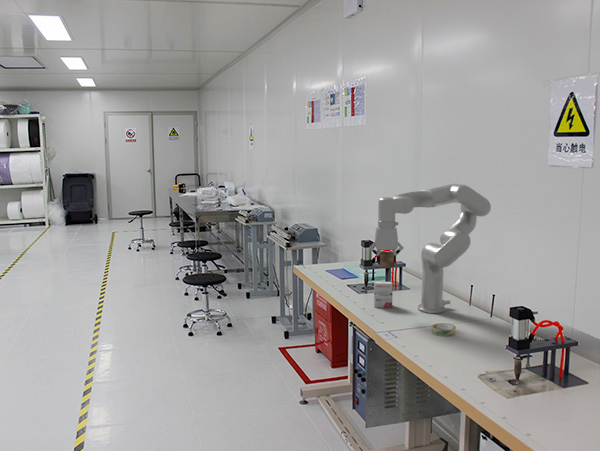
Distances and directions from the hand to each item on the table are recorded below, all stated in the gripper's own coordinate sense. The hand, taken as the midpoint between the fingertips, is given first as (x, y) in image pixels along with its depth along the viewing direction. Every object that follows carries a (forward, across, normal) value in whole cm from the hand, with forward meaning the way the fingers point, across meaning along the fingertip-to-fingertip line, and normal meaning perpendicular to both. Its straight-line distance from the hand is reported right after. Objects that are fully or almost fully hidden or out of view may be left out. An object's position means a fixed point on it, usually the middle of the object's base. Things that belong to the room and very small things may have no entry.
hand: (386, 263), depth 244 cm
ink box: (+24, 0, -11) cm, 26 cm away
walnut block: (+1, 0, 0) cm, 1 cm away
